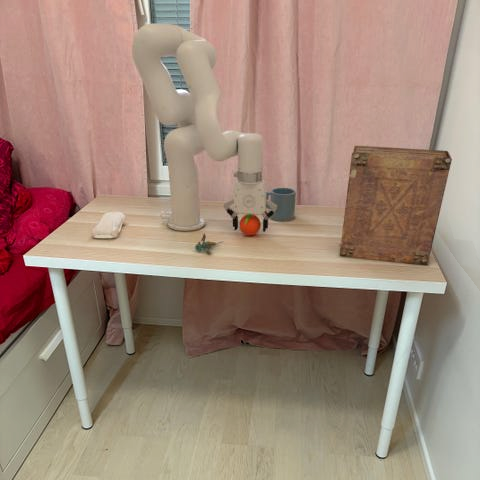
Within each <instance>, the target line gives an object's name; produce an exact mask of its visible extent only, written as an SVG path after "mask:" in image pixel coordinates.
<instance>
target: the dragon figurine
mask: <svg viewBox="0 0 480 480" xmlns="http://www.w3.org/2000/svg"><path fill="white" fill-rule="evenodd" d="M206 238H207V235H206V233H203V235H202V237H201V239H200V241H198V243H197V244H196V245H195V247H194V249H195V250H197V251H200V252H203V251H204V252H206V253H208V254H210V255H211V253H212V252H211V250H209V249H210V248H212V247H213V246H216V245H219V244H222V243H223V241H219V242H217V243H216V242H215V241H208V240H207V241H206ZM201 242H202V243H201Z"/></svg>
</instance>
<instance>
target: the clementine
mask: <svg viewBox="0 0 480 480" xmlns="http://www.w3.org/2000/svg"><path fill="white" fill-rule="evenodd" d="M261 227H262V226H261V220H260V218H259V217H258V216H257V215H254V214H244V215H243V216H242V217H241V218H240V220H239V230H240V232H241V233H243V234H244V235H246V236H255V235H256V234H258V233H259V231H260V229H261Z"/></svg>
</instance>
